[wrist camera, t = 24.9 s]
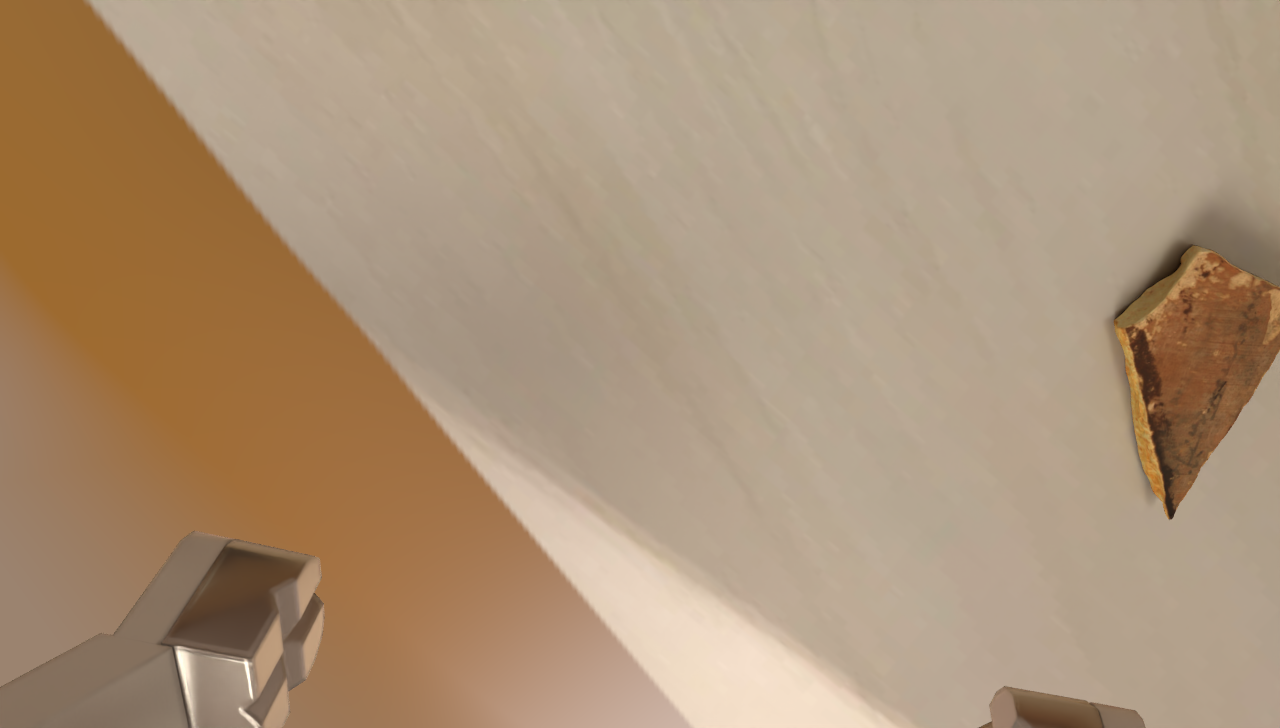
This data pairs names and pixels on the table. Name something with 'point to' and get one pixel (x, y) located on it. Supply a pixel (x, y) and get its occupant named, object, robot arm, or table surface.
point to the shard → (1195, 363)
